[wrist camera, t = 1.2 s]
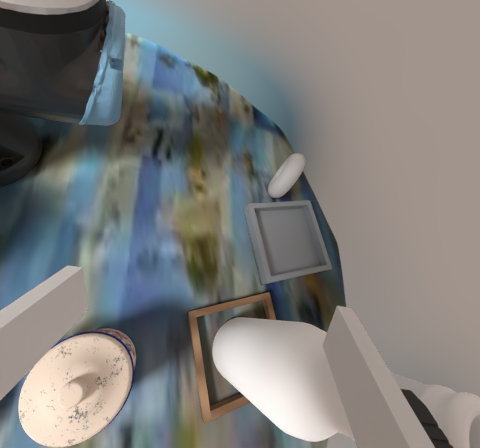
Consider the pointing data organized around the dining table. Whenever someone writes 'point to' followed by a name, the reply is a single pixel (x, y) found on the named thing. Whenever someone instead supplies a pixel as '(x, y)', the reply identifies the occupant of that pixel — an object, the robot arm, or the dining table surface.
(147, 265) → the dining table surface
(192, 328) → the square wooden frame
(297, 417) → the alcohol
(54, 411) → the teacup with lid
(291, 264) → the tray
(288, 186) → the donut
